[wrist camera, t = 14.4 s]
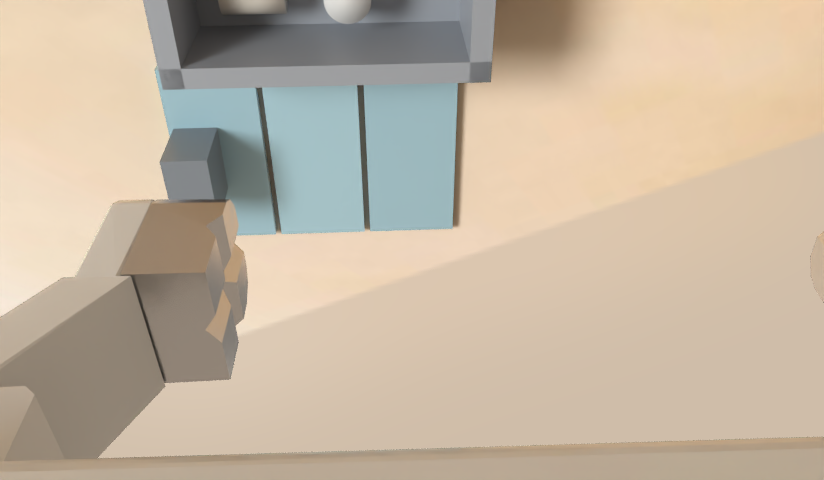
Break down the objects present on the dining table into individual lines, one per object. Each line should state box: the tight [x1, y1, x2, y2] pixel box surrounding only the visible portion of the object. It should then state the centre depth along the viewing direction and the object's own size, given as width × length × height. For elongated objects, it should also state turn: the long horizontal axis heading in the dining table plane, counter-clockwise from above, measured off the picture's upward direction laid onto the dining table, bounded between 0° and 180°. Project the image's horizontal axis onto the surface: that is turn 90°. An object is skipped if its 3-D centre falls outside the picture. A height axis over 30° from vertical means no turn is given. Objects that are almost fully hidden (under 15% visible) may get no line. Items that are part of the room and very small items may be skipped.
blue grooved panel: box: [155, 66, 458, 235], centre depth 42 cm, size 16×11×4 cm
